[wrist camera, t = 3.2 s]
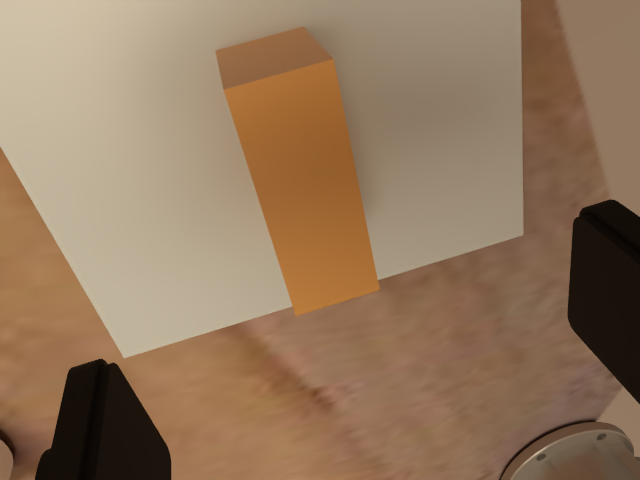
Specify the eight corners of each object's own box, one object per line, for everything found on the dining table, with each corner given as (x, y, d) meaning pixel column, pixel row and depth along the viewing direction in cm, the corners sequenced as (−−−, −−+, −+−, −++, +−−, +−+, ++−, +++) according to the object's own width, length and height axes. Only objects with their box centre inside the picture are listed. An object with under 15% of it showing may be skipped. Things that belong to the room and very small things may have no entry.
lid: (489, -143, 19) (613, -160, 13) (502, 214, 27) (583, 294, 21) (-54, 1, 18) (-160, 45, 12) (128, 328, 25) (112, 443, 20)
